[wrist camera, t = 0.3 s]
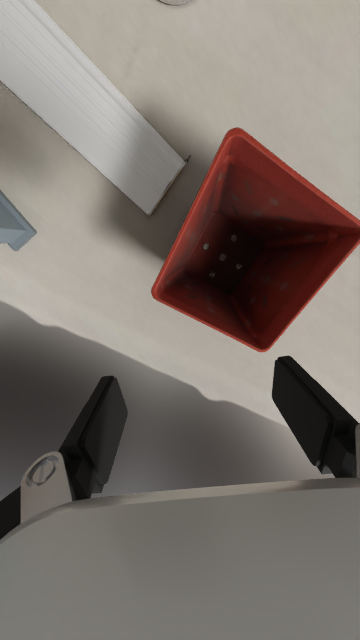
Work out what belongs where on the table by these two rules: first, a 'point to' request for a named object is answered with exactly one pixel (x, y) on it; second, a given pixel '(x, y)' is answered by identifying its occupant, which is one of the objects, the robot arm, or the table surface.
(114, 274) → the table surface
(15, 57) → the baseboard molding
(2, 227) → the slate ridge
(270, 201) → the plant pot
